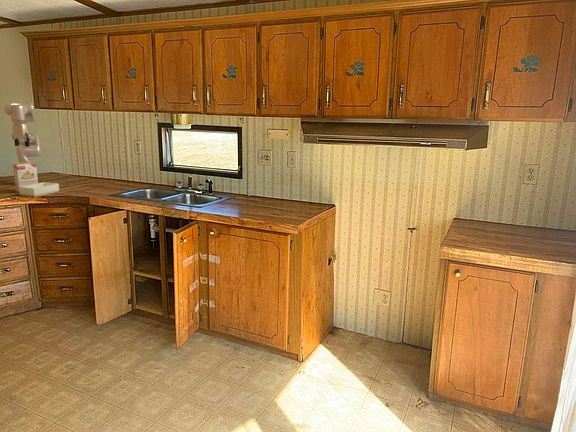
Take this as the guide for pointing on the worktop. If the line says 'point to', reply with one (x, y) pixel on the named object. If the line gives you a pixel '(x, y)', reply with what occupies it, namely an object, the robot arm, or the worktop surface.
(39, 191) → the bin
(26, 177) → the cracker box
